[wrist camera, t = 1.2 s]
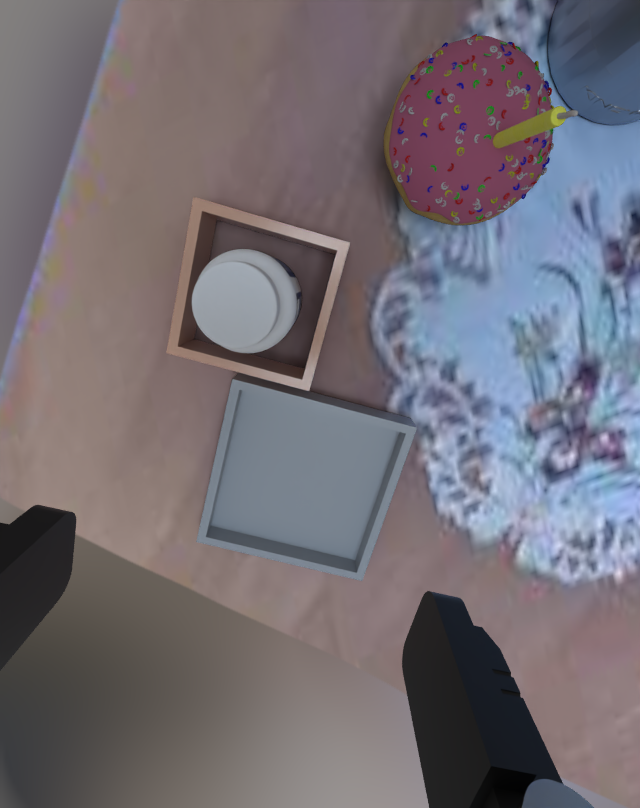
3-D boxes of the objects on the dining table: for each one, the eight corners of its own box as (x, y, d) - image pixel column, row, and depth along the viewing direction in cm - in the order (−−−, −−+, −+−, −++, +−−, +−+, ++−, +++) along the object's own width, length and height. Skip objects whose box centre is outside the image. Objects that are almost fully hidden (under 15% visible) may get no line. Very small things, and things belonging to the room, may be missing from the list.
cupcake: (540, 153, 26) (714, 50, 14) (443, 263, 28) (529, 250, 16) (441, 47, 25) (547, -162, 13) (346, 171, 26) (365, 84, 15)
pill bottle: (210, 274, 28) (154, 270, 19) (283, 243, 28) (264, 222, 18) (243, 348, 30) (206, 379, 20) (314, 320, 29) (310, 339, 20)
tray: (238, 372, 30) (232, 378, 28) (410, 418, 31) (417, 427, 29) (203, 526, 33) (196, 541, 31) (359, 563, 34) (362, 580, 32)
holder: (209, 207, 27) (193, 196, 24) (346, 247, 28) (350, 242, 24) (184, 344, 29) (166, 353, 26) (310, 379, 30) (309, 391, 27)
